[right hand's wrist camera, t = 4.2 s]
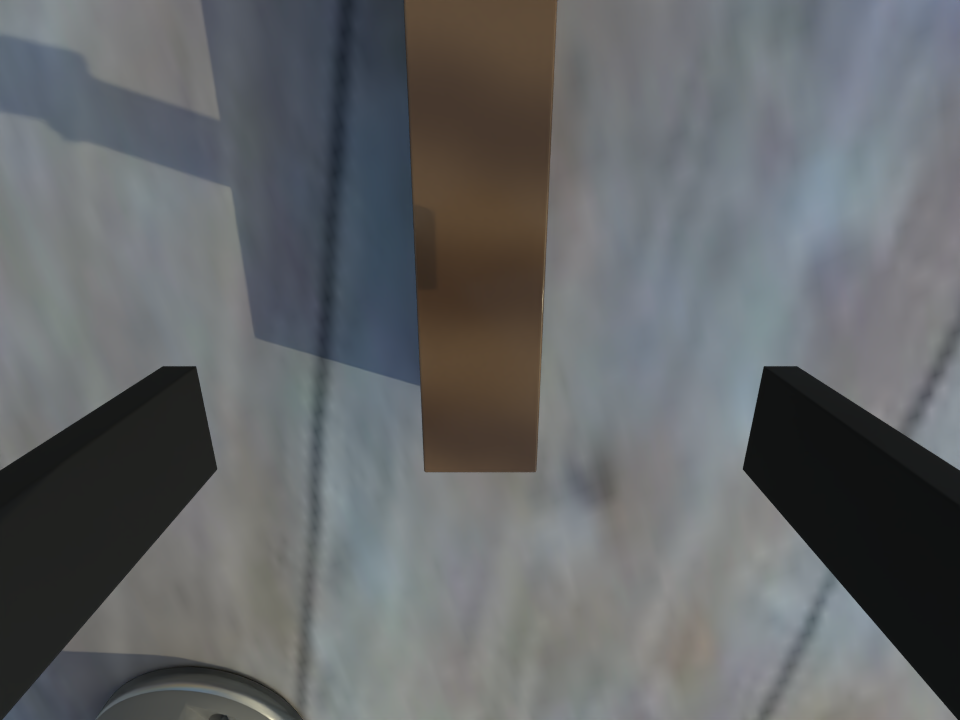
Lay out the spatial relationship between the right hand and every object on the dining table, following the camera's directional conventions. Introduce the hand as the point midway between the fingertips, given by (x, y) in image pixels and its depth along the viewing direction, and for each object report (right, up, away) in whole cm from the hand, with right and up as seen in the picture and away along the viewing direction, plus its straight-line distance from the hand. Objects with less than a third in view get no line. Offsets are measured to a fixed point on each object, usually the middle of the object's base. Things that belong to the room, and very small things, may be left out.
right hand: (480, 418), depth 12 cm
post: (0, +30, +5) cm, 30 cm away
